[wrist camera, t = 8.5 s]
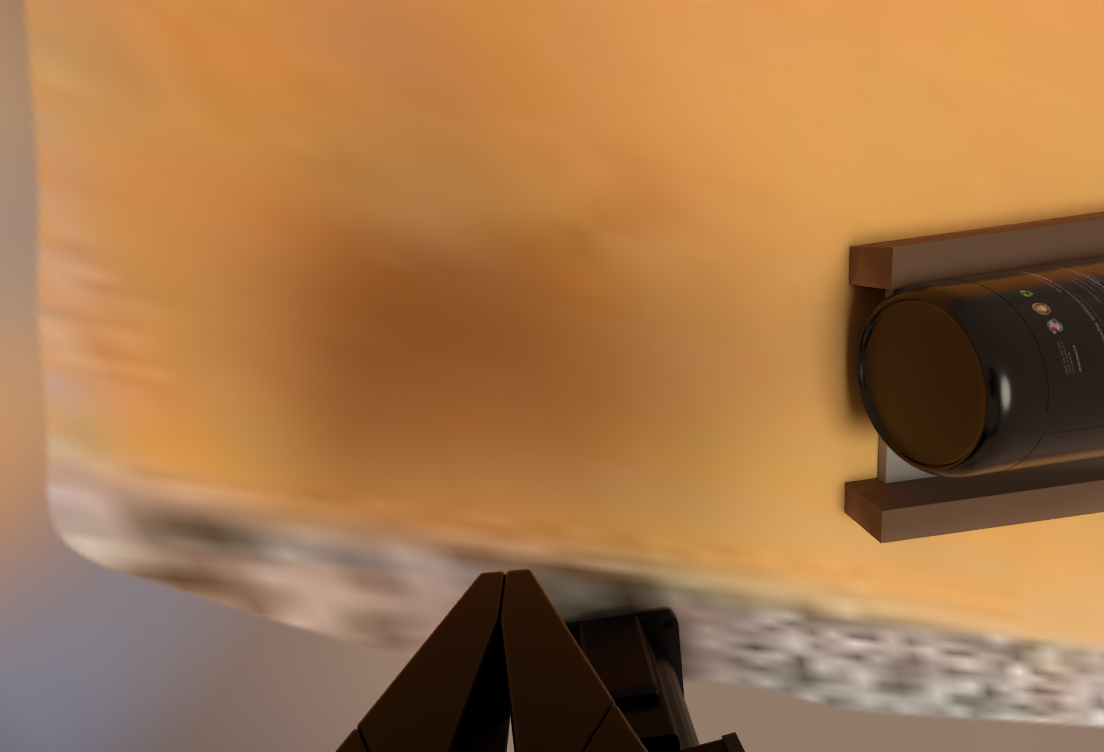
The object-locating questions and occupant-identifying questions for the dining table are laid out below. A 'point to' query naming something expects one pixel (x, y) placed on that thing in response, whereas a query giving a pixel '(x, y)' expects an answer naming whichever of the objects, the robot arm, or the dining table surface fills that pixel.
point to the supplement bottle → (989, 370)
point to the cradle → (989, 499)
